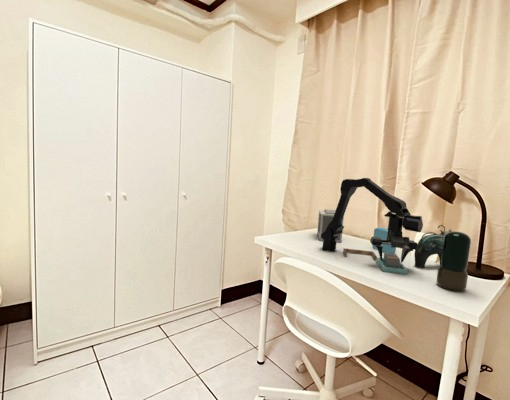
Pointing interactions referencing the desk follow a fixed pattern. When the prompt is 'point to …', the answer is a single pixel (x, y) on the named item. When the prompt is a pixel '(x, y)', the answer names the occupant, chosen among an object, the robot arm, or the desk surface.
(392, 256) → the grey brown block
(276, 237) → the desk surface
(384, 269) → the tray
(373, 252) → the grey brown u-shaped piece
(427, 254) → the travel neck pillow
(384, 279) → the desk surface
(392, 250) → the data package
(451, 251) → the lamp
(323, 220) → the alarm clock
